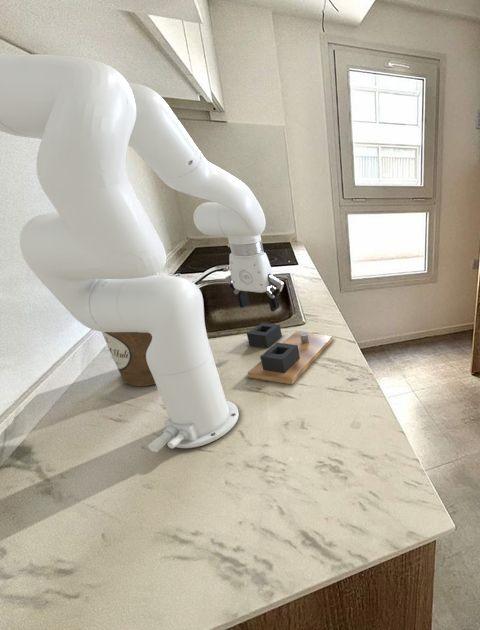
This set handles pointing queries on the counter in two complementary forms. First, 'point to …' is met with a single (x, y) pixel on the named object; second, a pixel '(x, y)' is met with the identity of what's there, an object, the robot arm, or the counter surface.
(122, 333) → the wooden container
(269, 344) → the dark grey hollow block
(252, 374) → the wooden board
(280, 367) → the black hollow rectangular block
